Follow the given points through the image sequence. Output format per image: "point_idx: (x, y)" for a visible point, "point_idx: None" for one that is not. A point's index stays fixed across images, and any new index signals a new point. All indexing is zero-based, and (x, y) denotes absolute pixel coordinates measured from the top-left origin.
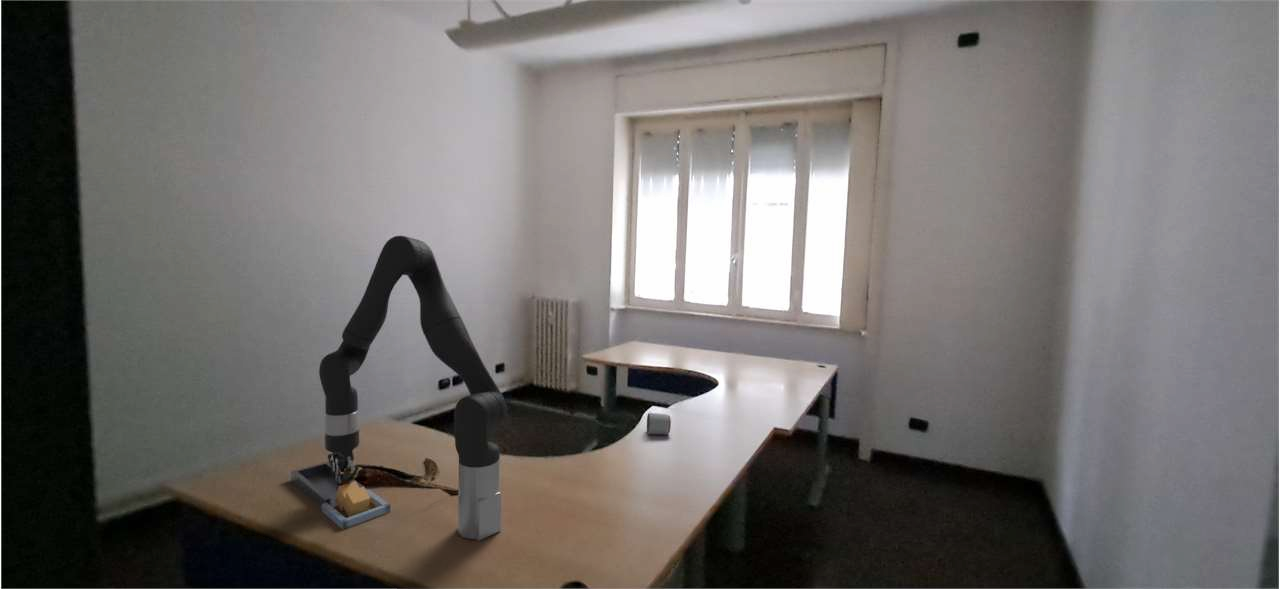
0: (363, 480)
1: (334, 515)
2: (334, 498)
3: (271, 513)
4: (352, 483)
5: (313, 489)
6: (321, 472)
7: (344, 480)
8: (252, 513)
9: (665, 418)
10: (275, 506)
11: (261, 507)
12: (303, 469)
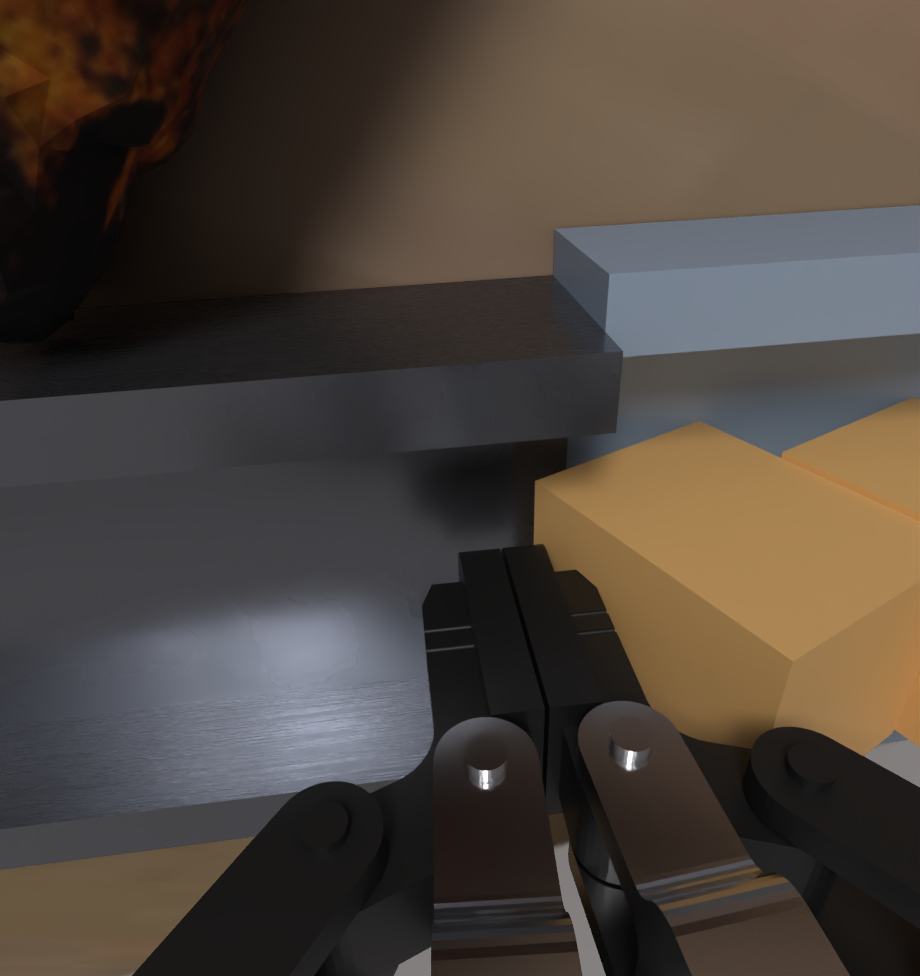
0: (108, 175)
1: (894, 739)
2: (351, 594)
3: (202, 886)
4: (801, 698)
5: (194, 840)
6: None
7: (877, 915)
8: (123, 950)
9: None
10: (77, 867)
11: (41, 920)
12: None
